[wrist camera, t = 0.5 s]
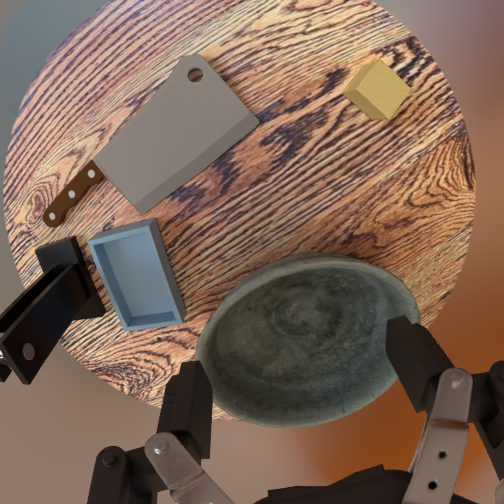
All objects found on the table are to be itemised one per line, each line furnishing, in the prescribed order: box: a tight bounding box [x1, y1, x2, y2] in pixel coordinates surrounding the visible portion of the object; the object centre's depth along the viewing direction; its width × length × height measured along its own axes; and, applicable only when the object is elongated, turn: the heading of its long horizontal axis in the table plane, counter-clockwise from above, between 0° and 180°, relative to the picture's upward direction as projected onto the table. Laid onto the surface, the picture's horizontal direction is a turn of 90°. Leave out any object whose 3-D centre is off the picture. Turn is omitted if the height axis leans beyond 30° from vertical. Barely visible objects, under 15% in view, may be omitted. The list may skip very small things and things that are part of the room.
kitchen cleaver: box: [43, 54, 260, 227], centre depth 27 cm, size 24×1×10 cm
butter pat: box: [342, 59, 411, 120], centre depth 23 cm, size 4×4×4 cm
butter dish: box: [87, 218, 186, 331], centre depth 31 cm, size 11×7×2 cm, turn 11°
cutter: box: [0, 236, 106, 385], centre depth 25 cm, size 10×6×16 cm, turn 11°
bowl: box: [195, 252, 421, 428], centre depth 30 cm, size 21×21×10 cm
